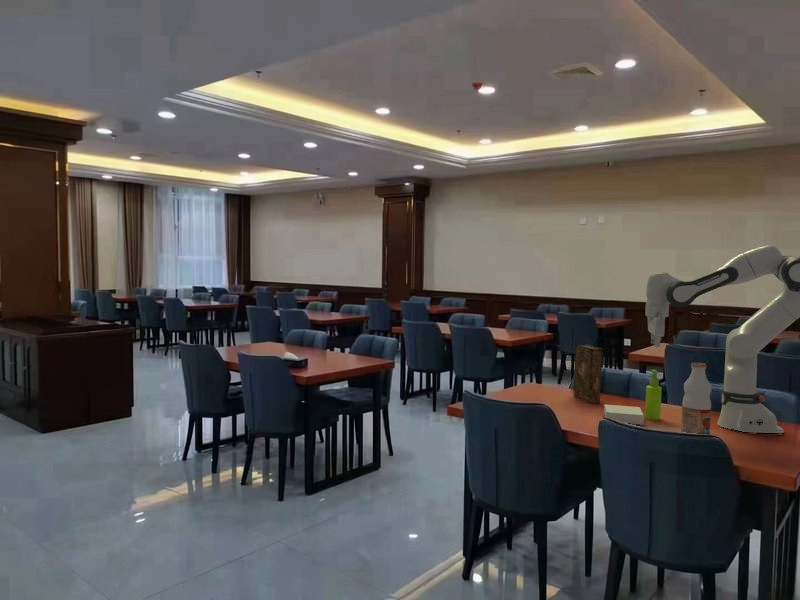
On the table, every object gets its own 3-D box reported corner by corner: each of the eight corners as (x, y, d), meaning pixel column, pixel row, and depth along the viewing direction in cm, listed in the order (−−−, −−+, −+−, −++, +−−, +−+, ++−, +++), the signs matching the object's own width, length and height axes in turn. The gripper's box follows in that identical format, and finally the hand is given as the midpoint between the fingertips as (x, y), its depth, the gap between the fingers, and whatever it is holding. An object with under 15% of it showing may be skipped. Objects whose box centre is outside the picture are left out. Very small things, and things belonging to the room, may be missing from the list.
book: (601, 403, 272) (603, 349, 270) (590, 403, 271) (592, 349, 269) (584, 395, 288) (586, 344, 286) (573, 395, 287) (575, 344, 285)
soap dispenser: (655, 415, 251) (657, 368, 250) (662, 419, 244) (665, 371, 243) (641, 415, 251) (643, 368, 249) (648, 419, 244) (651, 371, 243)
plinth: (639, 416, 249) (639, 407, 248) (643, 425, 235) (643, 415, 235) (603, 413, 252) (604, 404, 252) (606, 421, 239) (606, 412, 239)
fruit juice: (680, 434, 224) (683, 360, 222) (708, 437, 220) (712, 362, 218) (681, 440, 215) (685, 364, 213) (710, 444, 211) (714, 366, 210)
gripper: (669, 314, 234) (667, 349, 235) (661, 310, 253) (659, 342, 254) (652, 313, 236) (650, 348, 236) (645, 309, 255) (644, 341, 256)
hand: (655, 345), depth 246 cm, fingers open, 8 cm apart
